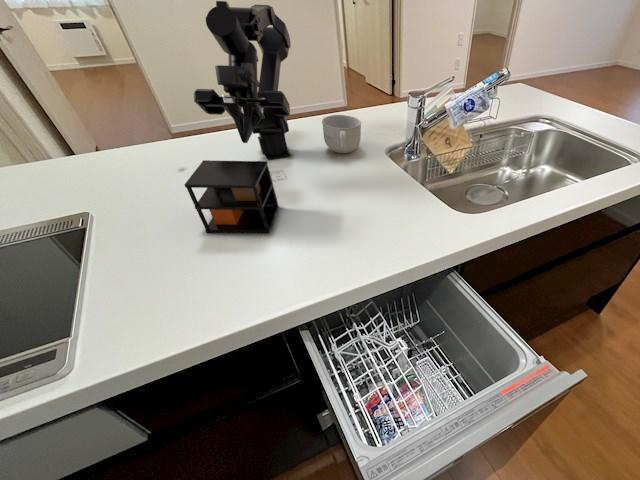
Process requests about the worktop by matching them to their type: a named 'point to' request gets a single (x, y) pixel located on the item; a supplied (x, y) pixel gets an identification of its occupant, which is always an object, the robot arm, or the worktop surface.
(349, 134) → the teacup
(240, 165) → the snack rack
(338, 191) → the worktop surface
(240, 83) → the robot arm
